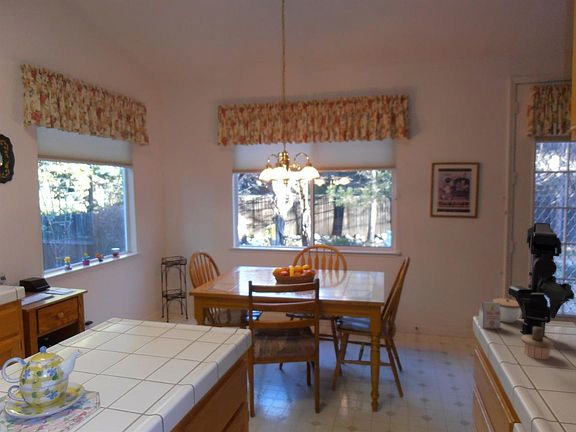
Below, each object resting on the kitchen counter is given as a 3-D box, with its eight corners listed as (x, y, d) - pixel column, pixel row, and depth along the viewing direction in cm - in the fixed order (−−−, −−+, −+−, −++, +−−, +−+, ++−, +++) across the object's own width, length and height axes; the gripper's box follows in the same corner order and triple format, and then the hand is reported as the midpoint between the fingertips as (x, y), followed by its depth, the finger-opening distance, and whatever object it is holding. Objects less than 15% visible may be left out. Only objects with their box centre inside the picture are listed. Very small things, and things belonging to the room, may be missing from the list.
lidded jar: (525, 325, 156) (526, 302, 155) (496, 323, 158) (497, 300, 157) (515, 317, 166) (516, 295, 166) (488, 314, 168) (489, 293, 168)
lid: (540, 337, 133) (542, 323, 132) (560, 348, 124) (561, 333, 123) (515, 337, 132) (516, 323, 132) (533, 348, 123) (534, 333, 123)
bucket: (539, 350, 132) (540, 338, 132) (554, 359, 125) (555, 347, 125) (519, 350, 132) (520, 338, 131) (533, 359, 125) (534, 347, 124)
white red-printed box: (478, 324, 155) (479, 300, 155) (495, 325, 155) (496, 301, 154) (482, 328, 152) (484, 303, 151) (499, 328, 152) (501, 303, 151)
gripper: (531, 276, 118) (527, 326, 119) (590, 277, 119) (586, 327, 120) (508, 268, 129) (505, 314, 130) (562, 269, 130) (559, 315, 131)
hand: (538, 318), depth 127 cm, fingers open, 9 cm apart
